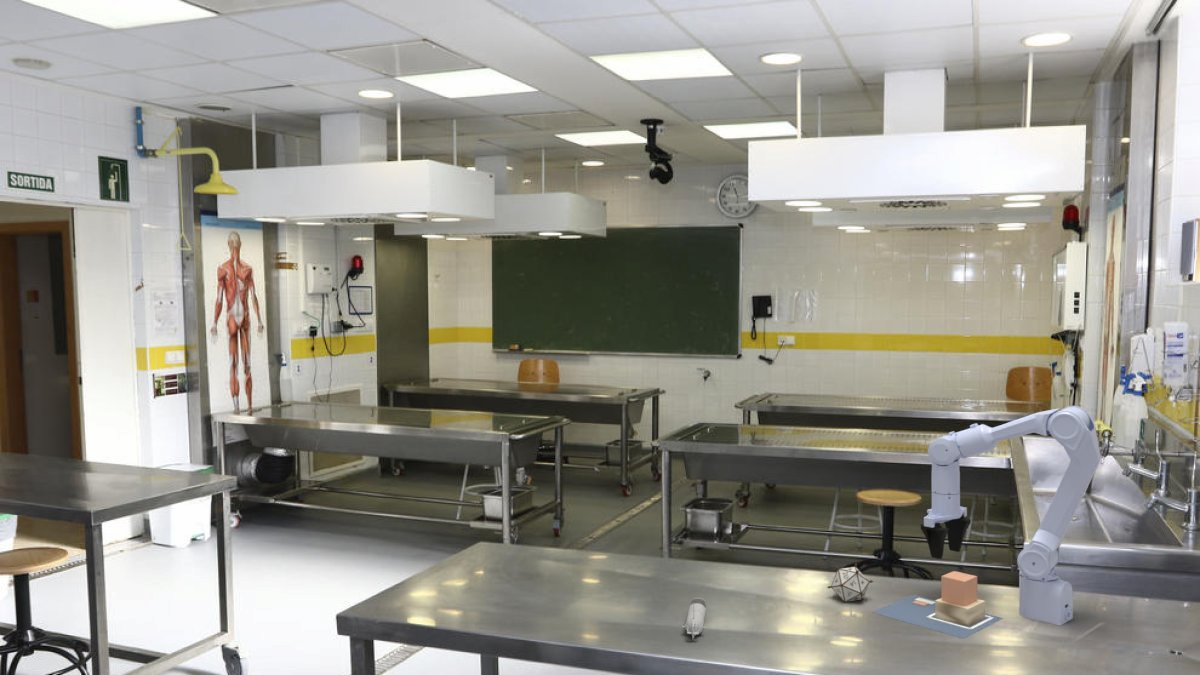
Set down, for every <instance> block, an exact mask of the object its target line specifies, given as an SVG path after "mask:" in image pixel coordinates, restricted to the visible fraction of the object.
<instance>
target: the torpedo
mask: <svg viewBox="0 0 1200 675" xmlns="http://www.w3.org/2000/svg"><path fill="white" fill-rule="evenodd" d="M689 604H690V605H689V608H688V612H687V616H686V622H685V624H684V625H682V626H681V627H682V628H684V629H686V634H688V635H691V636H692V639H694V638H695V637H696V636H697V635H700V634H701V633H702V632H703V630H704V629H706V628H707V627H706V626H704V622H705V617H706V612H707V611H706V610H707V603H706V601H705V599H704V598H701V597H694V598H692V599H691V600H690V603H689Z"/></svg>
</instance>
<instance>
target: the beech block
mask: <svg viewBox="0 0 1200 675" xmlns="http://www.w3.org/2000/svg"><path fill="white" fill-rule="evenodd" d="M934 600H935V618H939V619H943V620H946V621H950V622H953V623H957V624H961V625H964V626H970V625H972V624H974V623H976V622H978V621H980V620H982V619H984V618H985V613H986V600H983V599H978V598H977V601H975V602H973V603H971V604H969V605H967V606H961V605H957V604H954V603H950V602H946V601H942V598H941V597H940V598H937V599H934Z"/></svg>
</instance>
